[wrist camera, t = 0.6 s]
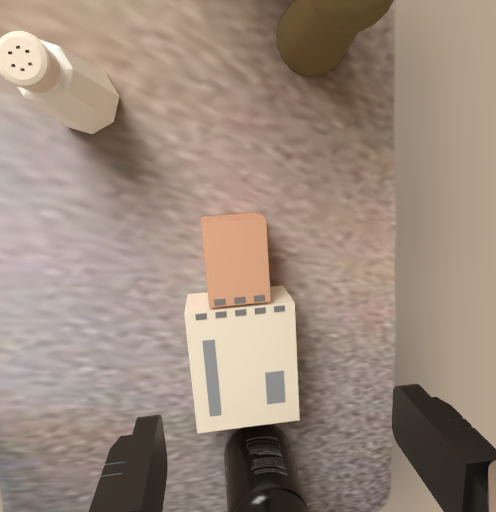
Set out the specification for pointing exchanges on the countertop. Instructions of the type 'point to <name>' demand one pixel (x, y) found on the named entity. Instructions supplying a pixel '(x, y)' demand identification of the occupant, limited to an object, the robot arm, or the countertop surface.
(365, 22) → the brown pawn
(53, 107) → the salt shaker
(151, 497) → the robot arm
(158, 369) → the countertop surface
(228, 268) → the orange box
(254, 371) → the cream box
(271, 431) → the supplement bottle
